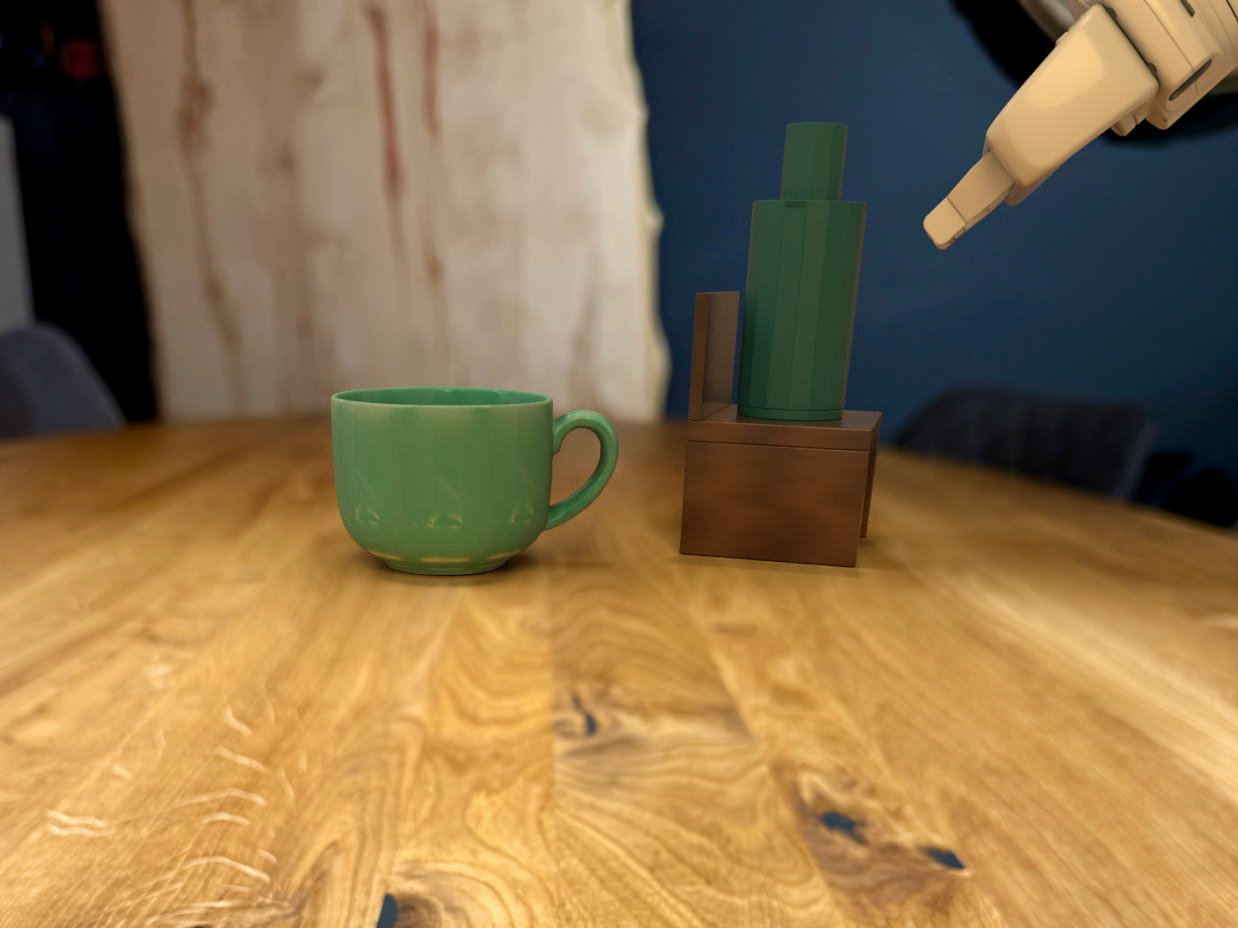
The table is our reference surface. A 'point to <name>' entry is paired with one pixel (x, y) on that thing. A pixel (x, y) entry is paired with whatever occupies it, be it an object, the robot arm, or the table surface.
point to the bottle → (802, 284)
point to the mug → (455, 473)
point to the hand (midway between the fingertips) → (931, 239)
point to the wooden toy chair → (768, 465)
